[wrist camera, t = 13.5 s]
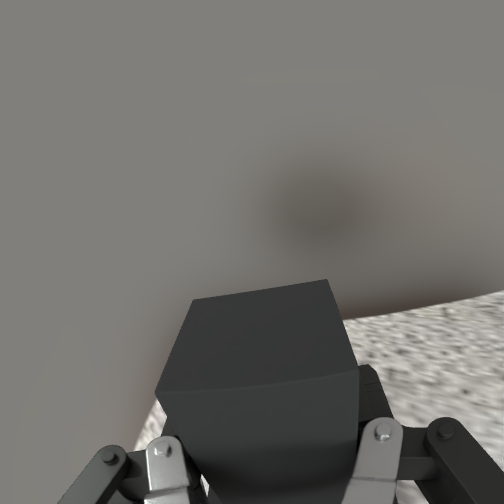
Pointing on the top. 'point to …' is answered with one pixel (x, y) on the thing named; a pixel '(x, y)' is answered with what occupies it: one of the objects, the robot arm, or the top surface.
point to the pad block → (266, 395)
